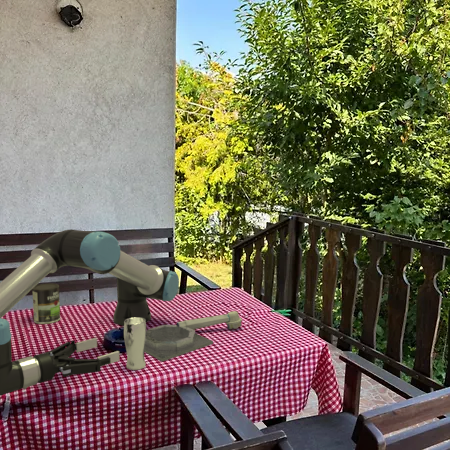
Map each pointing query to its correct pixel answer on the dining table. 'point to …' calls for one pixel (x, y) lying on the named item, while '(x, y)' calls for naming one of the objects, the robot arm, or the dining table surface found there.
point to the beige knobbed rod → (213, 321)
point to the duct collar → (173, 341)
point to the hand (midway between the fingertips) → (107, 348)
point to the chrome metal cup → (135, 342)
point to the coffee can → (46, 303)
